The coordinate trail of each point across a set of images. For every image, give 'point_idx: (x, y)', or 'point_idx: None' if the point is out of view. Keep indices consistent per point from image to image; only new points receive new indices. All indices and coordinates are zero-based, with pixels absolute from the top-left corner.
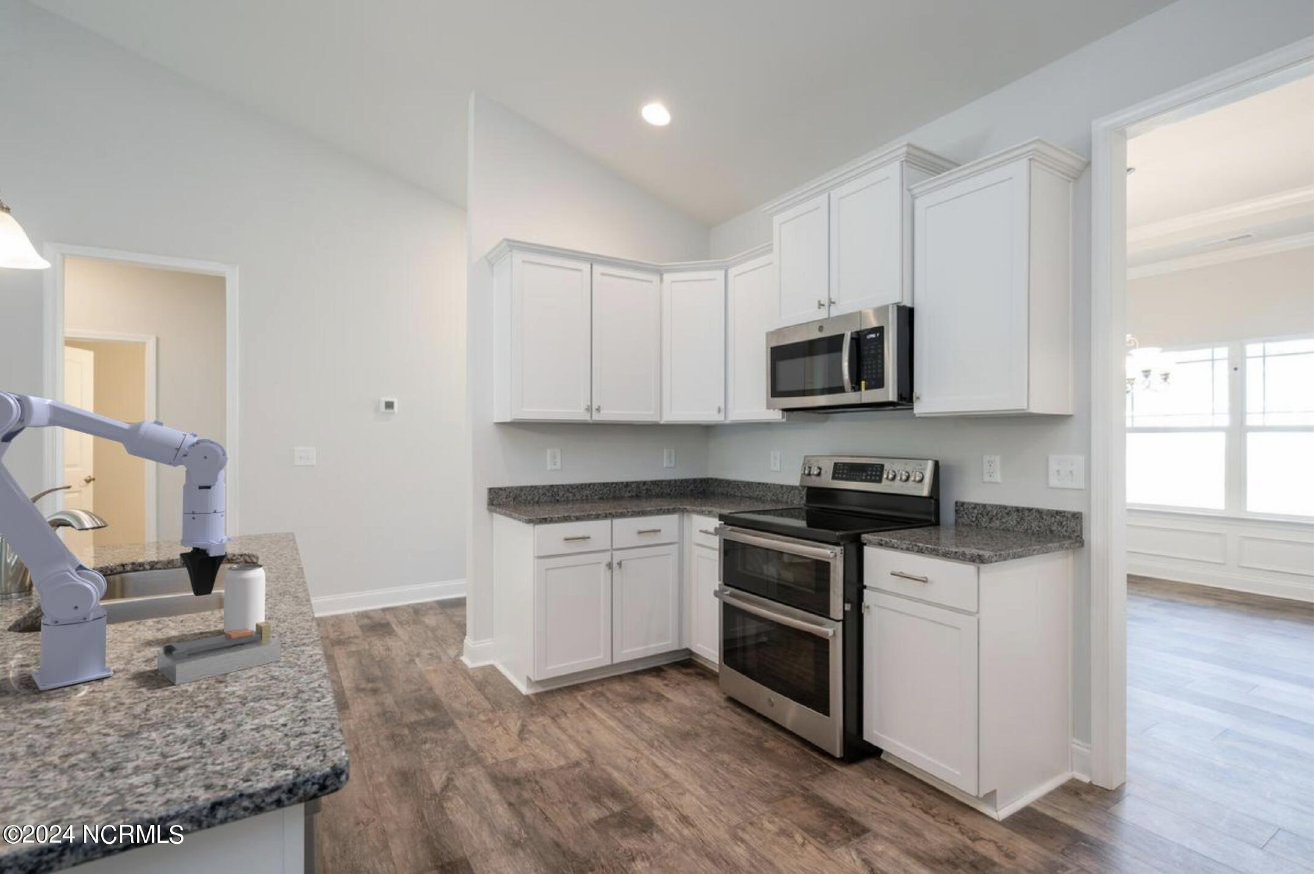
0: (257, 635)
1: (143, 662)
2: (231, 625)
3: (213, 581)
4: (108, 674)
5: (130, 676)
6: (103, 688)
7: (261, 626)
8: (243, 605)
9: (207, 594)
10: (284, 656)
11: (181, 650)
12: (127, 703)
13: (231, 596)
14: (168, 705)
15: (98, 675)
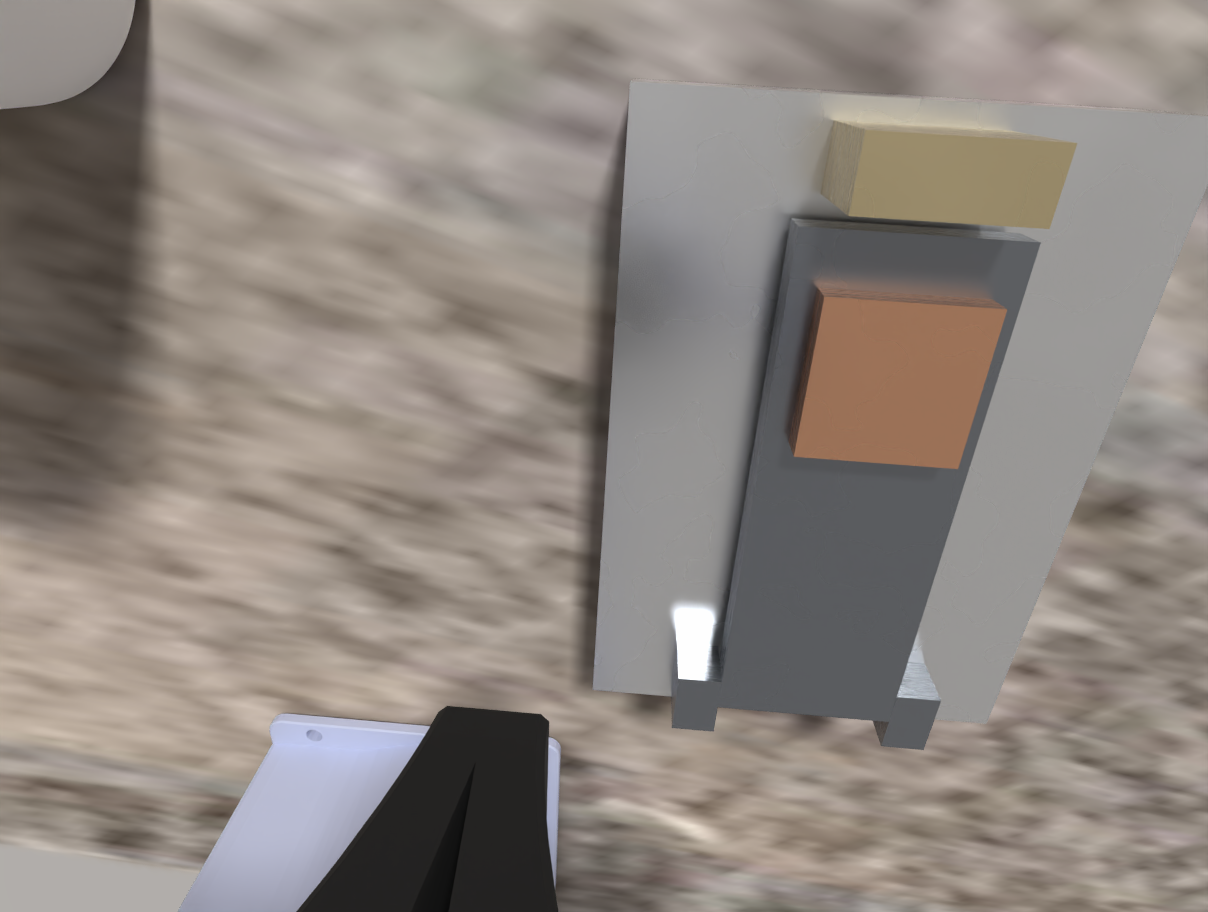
0: (1030, 270)
1: (417, 612)
2: (47, 83)
3: (551, 866)
4: (559, 758)
5: (614, 698)
6: (696, 783)
7: (1017, 225)
8: None
9: (547, 745)
10: (1064, 36)
11: (907, 715)
12: (980, 788)
13: None
14: (1178, 728)
15: (550, 782)
